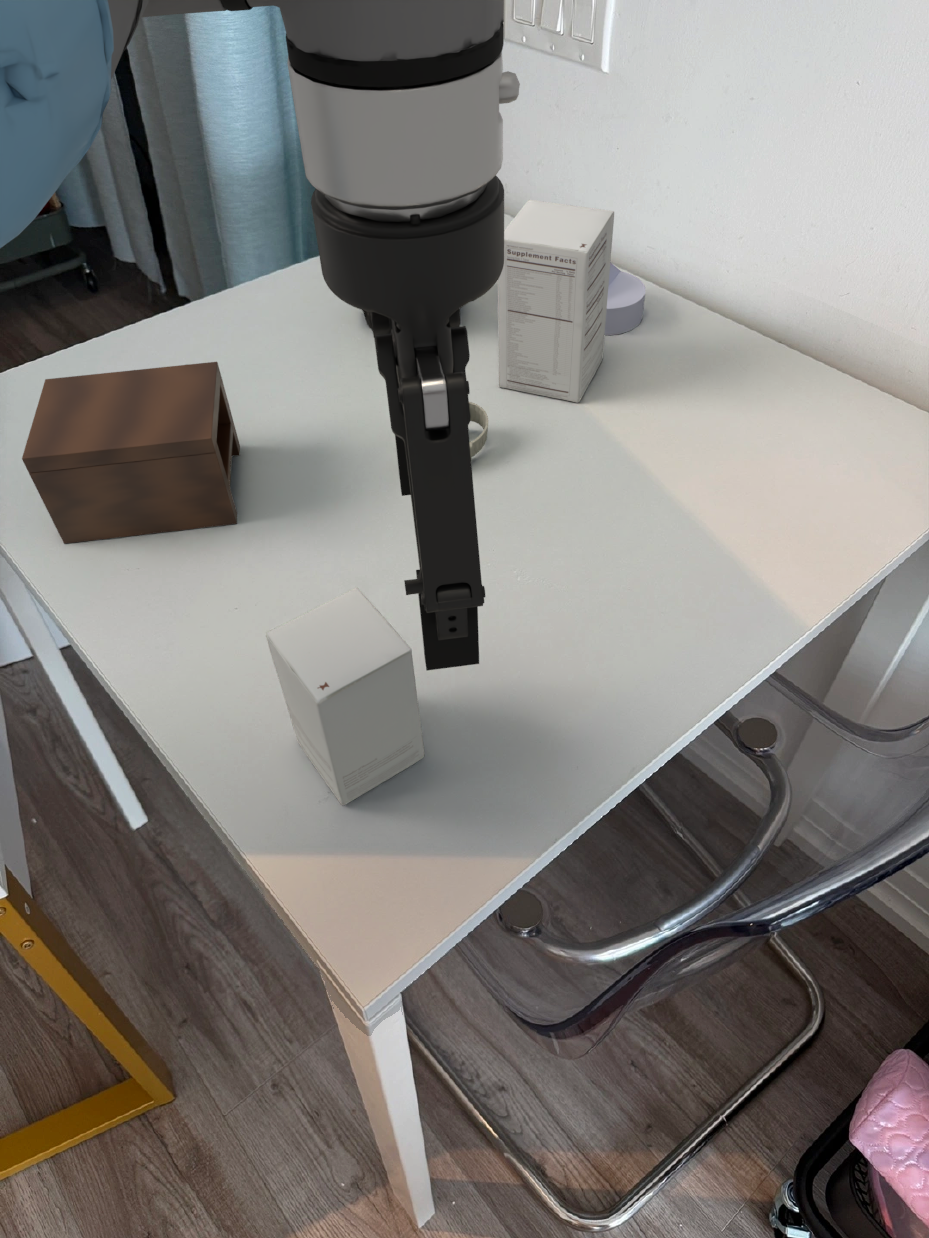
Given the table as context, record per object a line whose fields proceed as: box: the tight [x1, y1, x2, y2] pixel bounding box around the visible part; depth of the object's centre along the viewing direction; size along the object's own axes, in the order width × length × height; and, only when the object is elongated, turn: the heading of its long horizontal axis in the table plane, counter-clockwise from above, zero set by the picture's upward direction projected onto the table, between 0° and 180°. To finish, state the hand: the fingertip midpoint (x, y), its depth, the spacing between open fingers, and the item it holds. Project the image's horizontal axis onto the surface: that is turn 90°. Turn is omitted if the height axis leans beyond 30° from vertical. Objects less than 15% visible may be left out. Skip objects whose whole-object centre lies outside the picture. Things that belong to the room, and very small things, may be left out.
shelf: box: [21, 361, 241, 545], centre depth 85 cm, size 16×12×10 cm
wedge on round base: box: [604, 261, 647, 336], centre depth 106 cm, size 9×7×13 cm
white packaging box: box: [265, 587, 426, 806], centre depth 64 cm, size 7×7×13 cm
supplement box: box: [497, 199, 615, 404], centre depth 94 cm, size 10×9×17 cm
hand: (436, 568), depth 51 cm, fingers open, 13 cm apart
